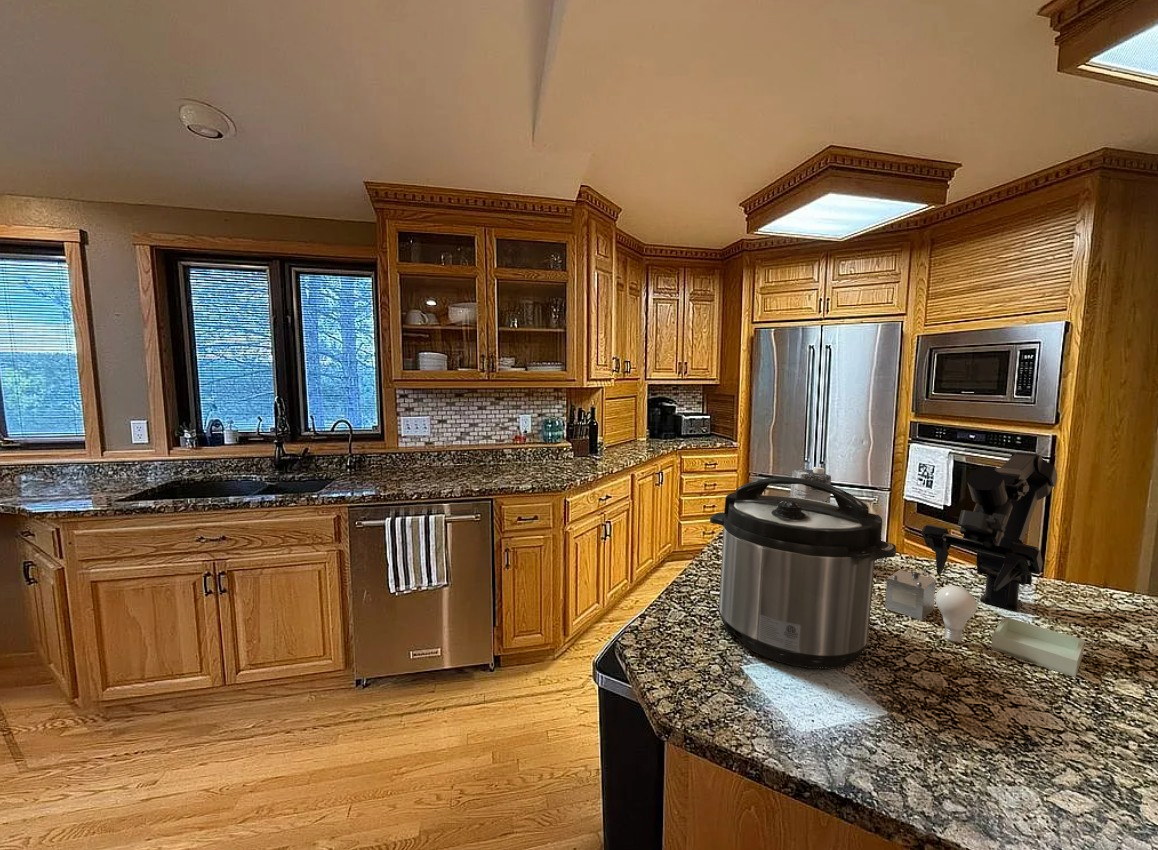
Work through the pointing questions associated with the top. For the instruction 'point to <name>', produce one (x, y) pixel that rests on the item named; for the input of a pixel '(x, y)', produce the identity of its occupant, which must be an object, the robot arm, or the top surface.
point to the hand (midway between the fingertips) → (965, 581)
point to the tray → (1039, 646)
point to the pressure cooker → (799, 573)
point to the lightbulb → (955, 610)
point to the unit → (910, 594)
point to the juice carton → (810, 492)
